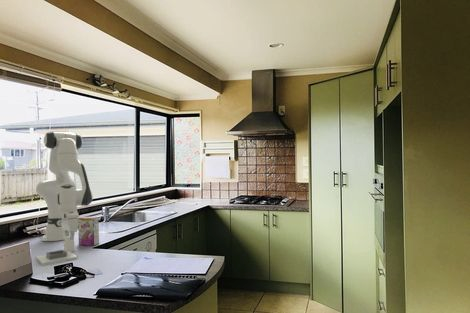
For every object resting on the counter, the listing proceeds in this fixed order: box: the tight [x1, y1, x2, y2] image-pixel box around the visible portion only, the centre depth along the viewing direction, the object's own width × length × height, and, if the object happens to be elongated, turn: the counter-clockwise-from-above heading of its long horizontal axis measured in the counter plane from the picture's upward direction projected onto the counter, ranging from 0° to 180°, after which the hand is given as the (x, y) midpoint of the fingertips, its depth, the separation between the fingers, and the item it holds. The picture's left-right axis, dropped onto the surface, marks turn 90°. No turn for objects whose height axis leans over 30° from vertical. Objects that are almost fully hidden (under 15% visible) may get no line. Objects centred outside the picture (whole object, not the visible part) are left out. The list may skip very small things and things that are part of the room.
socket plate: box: [35, 249, 78, 266], centre depth 182 cm, size 16×16×3 cm
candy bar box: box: [77, 216, 100, 246], centre depth 212 cm, size 11×5×16 cm, turn 74°
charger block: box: [63, 236, 75, 252], centre depth 198 cm, size 4×4×8 cm
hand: (69, 238), depth 197 cm, fingers open, 8 cm apart
